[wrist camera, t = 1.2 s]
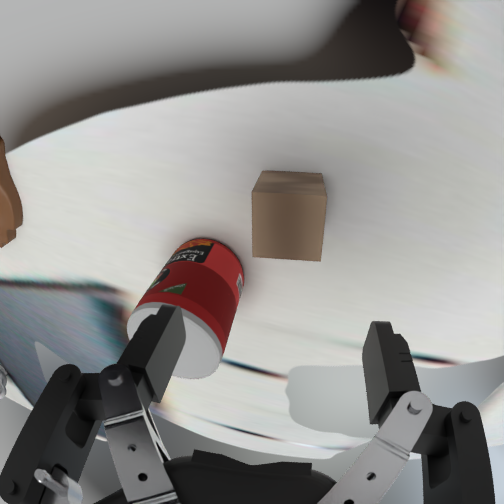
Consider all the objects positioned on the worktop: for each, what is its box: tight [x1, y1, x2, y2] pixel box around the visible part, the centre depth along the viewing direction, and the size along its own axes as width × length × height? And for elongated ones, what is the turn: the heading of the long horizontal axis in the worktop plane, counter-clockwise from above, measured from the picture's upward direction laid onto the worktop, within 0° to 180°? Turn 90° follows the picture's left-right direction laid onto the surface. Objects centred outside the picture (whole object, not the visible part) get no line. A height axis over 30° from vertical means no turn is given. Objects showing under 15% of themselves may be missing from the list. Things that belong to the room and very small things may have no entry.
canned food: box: [127, 239, 244, 379], centre depth 26 cm, size 8×8×11 cm
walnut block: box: [252, 171, 327, 261], centre depth 23 cm, size 5×5×6 cm
